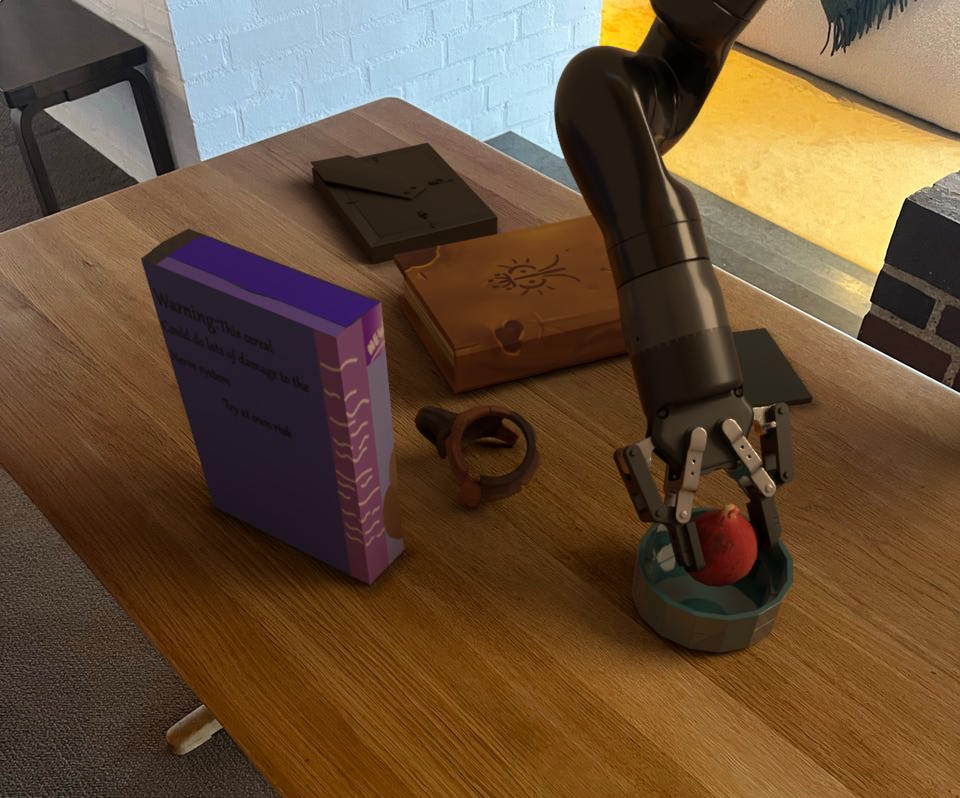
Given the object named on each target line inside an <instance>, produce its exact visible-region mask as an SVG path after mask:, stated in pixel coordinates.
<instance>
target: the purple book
mask: <svg viewBox="0 0 960 798" xmlns="http://www.w3.org/2000/svg"><path fill="white" fill-rule="evenodd" d="M140 260H141V264H142V268H143V271H144V274H145V277H146V280H147V285H148V288H149V291H150V295H151V298H152V302H153V305H154V309H155V311H156V315H157V319H158V322H159V325H160V328H161V333H162V336H163V338H164V339H163V340H164V342H165V346H166V348H167V349H166V350H167V352H168V353H167V354H168V356H169V360H170V363H171V367H172V370H173V373H174V376H175V380H176V384H177V387H178V390H179V391H178V392H179V393H180V397H181V400H182V401H181V402H182V404H183V407H184V411H185V414H186V418H187V421H188V424H189V429H190V432H191V435H192V438H193V441H194V445H195V449H196V452H197V455H198V459H199V462H200V465H201V466H200V467H201V469H202V473H203V476H204V479H205V483H206V486H207V490H208V493H209V496H210V500H211V503H212V506H213V508H214V509H217V510H218V511H221V512H222V513H224V514H226V515H227V516H230V517H232V518H234V519H236V520H238V521H240V522H242V523H244V524H245V525H248V526H250V527H252V528H254V529H256V530H258V531H260V532H261V533H264V534H265V535H268V536H270V537H272V538H273V539H276V540H277V541H279V542H281V543H283V544H285V545H287V546H289V547H291V548H293V549H295V550H297V551H299V552H301V553H303V554H305V555H307V556H309V557H311V558H313V559H314V560H317V561H318V562H320V563H323V564H325V565H327V566H329V567H331V568H333V569H335V570H336V571H339V572H341V573H342V574H344V575H347V576H348V577H350V578H351V579H354V580H356V581H358V582H360V583H362V584H364V585H365V586H367V587H372V586H373V584H374V583H375V582H376V581H377V580H378V579H380V577H381V576H382V575H383V574H385V572H386V571H387V570H388V569H389V568H390V567H391V566H392V565H393V564H394V563H395V562H396V561H397V560H398V558H399V557H401V556H402V555H403V554H404V552H405V546H404V536H403V535H404V534H403V524H402V515H401V514H402V513H401V512H402V511H401V502H400V491H399V482H398V471H397V460H396V459H397V458H396V448H395V438H394V427H393V419H392V418H393V415H392V405H391V394H390V384H389V371H388V362H387V352H386V340H385V329H384V319H383V308H382V307H383V306H382V301H380V300H377V299H375V298H372V297H369V296H367V295H365V294H362V293H359V292H356V291H354V290H351V289H349V288H346V287H343V286H341V285H338V284H336V283H333V282H330V281H328V280H325V279H322V278H320V277H318V276H315V275H312V274H309V273H307V272H304V271H301V270H299V269H297V268H293V267H290V266H289V265H285V264H283V263H280V262H278V261H275V260H272V259H270V258H267V257H265V256H262V255H259V254H258V253H257V254H256V253H255V252H251V251H249V250H246V249H244V248H241V247H238V246H236V245H233V244H231V243H228V242H225V241H223V240H220V239H217V238H215V237H212V236H210V235H207V234H205V233H202V232H199V231H197V230H193V229H191V228H187V229H184V230H183V231H180V232H179V233H177V234H175V235H173V236H170V237H169V238H167V239H165V240H164V241H162V242H160V243H159V244H158V245H156V246H155V247H153V248H152V249H151V250H150V251H149V252H148V253H146V254H145V255H143V256H142V257H141V258H140Z"/></svg>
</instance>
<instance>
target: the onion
mask: <svg viewBox="0 0 960 798" xmlns="http://www.w3.org/2000/svg"><path fill="white" fill-rule="evenodd" d="M739 513H740V509H739V507H738V506H736V505H735V504H734V503H730V504H724V506H723V507H722V508H719V509H714V510H709V511H707V512H705V513H703V514H701V515H699V516H697V517H696V518H695V519H694V520H693V521H692V522H695V526H696V530H697V534H698V538H699V542H700V546H701V550H702V554H703V558H704V562H705V569H704V570H702V571H698V572H688V573H689V574H690V576H691V577H692V578H693V579H694V580H695V581H698V582H700V583H702V584H704V585H706V586H714V587H723V586H726V585H730V584H733V583H735V582H737V581H738V580H740V579H741V578H743V577H744V576H746V575H747V574H748V572H749V571H750V569H751V568H752V566H753V564H754V562H755V560H756V558H757V552H758V537H757V533H756V531H755V529H754V528H753V526H752V525H751V523H750V522H749V521H748V520H747V518H745V517H744V516H742V515H741V514H742V513H741V514H739Z"/></svg>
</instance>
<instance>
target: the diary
mask: <svg viewBox="0 0 960 798" xmlns="http://www.w3.org/2000/svg"><path fill="white" fill-rule="evenodd" d="M393 262H394V263H393V264H394V265H395V266H396V268H397V269H398V271H399V272H400V274H401V276H402V277H403V287H404V288H403V289H404V294H400V295H397V296H396V298H397V299H396V301H397V305H398V306H399V308H400V310H401V311H402V313H403V314H404V316H405V318H406V319H407V320H408V322H409V324H410V325H411V327H412V328H413V330H414V331H415V333H416V334H417V336H418V338H419V339H420V341H421V342H422V344H423V346H424V347H425V349H426V350H427V352H428V354H429V355H430V356H431V359H433V361H434V363H435V364H436V366H437V368H438V369H439V371H440V372H441V374H442V375H443V377H444V379H445V381H446V382H447V383H448V385H449V386H450V388H451V390H452V391H453V393H454V394H455V395H456V394H460V393H464V392H465V393H466V392H468V391H473V390H478V389H481V388H485V387H491V386H494V385H498V384H502V383H507V382H511V381H514V380H519V379H523V378H527V377H532V376H536V375H539V374H544V373H548V372H553V371H556V370H559V369H564V368H565V369H566V368H568V367H573V366H577V365H582V364H586V363H590V362H594V361H598V360H603V359H607V358H611V357H614V356H619V355H623V354H628V351H627V349H626V347H625V344H624V334H623V331H622V326H621V322H620V314H619V305H618V298H617V293H616V292H617V291H616V288H615V284H614V280H613V276H612V272H611V268H610V264H609V261H608V257H607V253H606V248H605V244H604V239H603V235H602V232H601V230H600V228H599V226H598V224H597V222H596V221H595V219H594V217H593V216H592V214H590V215H585V216H580V217H575V218H570V219H565V220H561V221H555V222H550V223H546V224H540V225H535V226H530V227H525V228H521V229H520V228H519V229H515V230H511V231H505V232H500V233H496V234H492V235H488V236H484V237H480V238H476V239H471V240H466V241H461V242H456V243H451V244H446V245H441V246H436V247H431V248H426V249H421V250H416V251H411V252H406V253H401V254H396V255H394V259H393Z"/></svg>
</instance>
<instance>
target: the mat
mask: <svg viewBox="0 0 960 798" xmlns="http://www.w3.org/2000/svg"><path fill="white" fill-rule="evenodd" d="M732 335H733V339H734V343H735V347H736V352H737V356H738V360H739V364H740V368H741V372H742V377H743V394H744V396H745V398H746V400H747V401H748V402H749V403H750V404H751V406H752V407H753V408H756V407H767V406H769V405H773V404H777V403H781V402H782V403H785V404H787V406H793V405H800V404H807V403H812V401H813V399H814V398H813V395H812V394H811V393H810V391H809V390H808V388H807V387H806V385H805V383H803V381H802V379H801V378H800V377H799V374H798V373H797V372H796V370H795V369H794V368H793V366H792V365H791V363H790V362H789V360H788V359H787V357H786V355H785V354H784V352H783V351H782V350H781V348H780V347H779V345H778V343H776V341H775V340H774V338H773V337H772V334H770V332H769V331H768V329H767V328H766V327H762V328H753V329H746V330H739V331H732Z"/></svg>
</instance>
